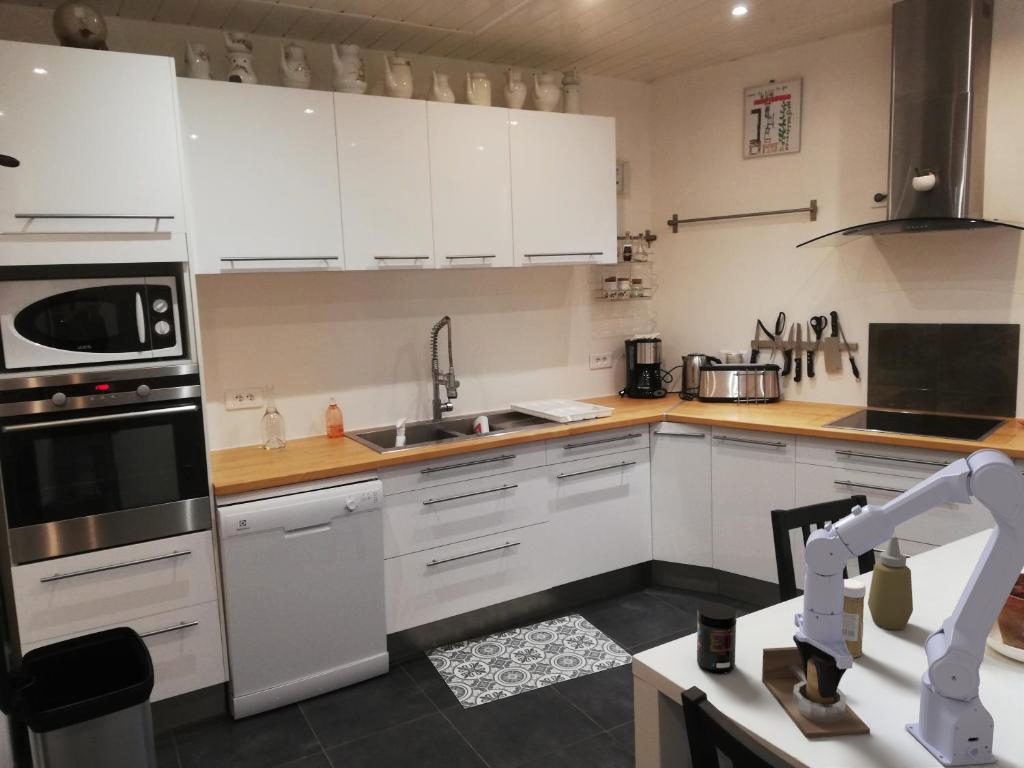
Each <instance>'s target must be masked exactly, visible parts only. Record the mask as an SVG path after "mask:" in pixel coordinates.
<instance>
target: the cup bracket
mask: <svg viewBox="0 0 1024 768" xmlns="http://www.w3.org/2000/svg"><path fill="white" fill-rule="evenodd" d="M761 666H762V673H761V682H762V683H763V684H765V685H766V686H765V685H764V686H765V688H766V689H767V690H768V691H769V692H770V694H771V695H772V696H773V698H774V699H775V700H776V701H777V702H778V704H779V705H780V706H781V708H782V709H783V711H784V712H785V713H786V715H788V717H789V718H790V719H791V720H792V722H793V723H794V724H795V725H796V727H797V728H798V729H799V731H800V732H801V733H802V735H803V736H804V737H805V738H806V739H812V738H813V739H814V738H815V739H816V738H826V737H827V738H830V737H842V736H843V737H844V736H845V737H846V736H857V735H870V734H871V728H870V727H869V726H868V725H867V724H866V723H865V722H864V721H863V719H861V717H859V715H858V714H857V713H856V712H855V711H854V710H853V709H852V708H851V707H850V706H849V705H848V704H847V695H846V694H845V693H844V692H843V691H842V690H841V689H840V688H837V691H836V693H835V696H834V702H833V704H828V705H823V704H818V703H814V702H811V701H809V700H807V698H806V691H807V681H806V679H805V675H804V670H803V665H802V660H801V657H800V653H799V651H798V648H797V646H787V647H786V646H785V647H768V648H762V665H761Z"/></svg>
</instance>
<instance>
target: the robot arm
mask: <svg viewBox="0 0 1024 768" xmlns="http://www.w3.org/2000/svg"><path fill="white" fill-rule="evenodd" d="M971 497H974V498H975V499H976V500H977V501H978V502H979V503H980V504H982V506H984V507H985V508H986V509H987V510H989V513H990V514H991V516H992V517H993V518H994V521H995V526H994V528H993V529H992V531H991V534H990V536H989V538H988V540H987V541H986V544H985V546H984V547H983V549H982V552H981V554H980V556H979V559H978V561H977V562H976V564H975V566H974V569H973V570H972V572H971V575H970V576H969V578H968V580H967V583H966V585H965V586H964V588H963V590H962V593H961V595H960V597H959V598H958V601H957V603H956V605H955V607H954V609H953V611H952V613H951V615H950V616H948V617H946V618H945V619H944V620H943V622H942V624H941V625H940V627H939V628H938V629H937V630H934V632H932V633H930V634H929V635H928V636H927V638H926V639H925V642H924V651H925V654H926V655H925V656H926V659H927V667H928V668H927V669H926V670H925V671H924V672H923V673H922V675H921V681H920V683H921V685H920V700H919V701H920V702H919V714H918V715H919V716H918V722H916V723H915V722H914V723H905V725H904V726H905V729H906V730H907V731H908V732H909V733H910V734H911V735H912V736H913V737H914V738H915V739H917V741H919V743H921V745H922V746H924V747H925V748H926V749H927V751H928V752H930V754H932V755H933V756H934V757H935V758H936V759H937V760H938V761H939V762H940V763H941V764H942V765H944V766H946V767H951V766H968V765H980V764H994V763H995V764H996V763H997V762H998V759H997V757H995V756H994V755H993V754H992V753H993V746H994V745H993V743H994V742H993V741H994V728H995V722H994V718H993V716H992V715H991V713H990V712H989V710H987V709H986V707H985V706H984V704H983V703H982V701H981V698H980V693H979V690H980V689H979V688H980V683H981V678H980V667H981V665H982V664H983V661H984V658H985V657H984V656H985V651H986V644H987V640H988V638H989V636H990V633H991V631H992V629H993V627H994V625H995V623H996V622H997V620H998V618H999V615H1001V612H1002V609H1003V608H1004V606H1005V605H1006V602H1007V601H1008V598H1009V597H1010V595H1011V592H1012V590H1013V589H1014V587H1015V584H1016V583H1017V581H1018V579H1019V577H1020V574H1021V573H1022V571H1023V569H1024V475H1023V473H1022V472H1021V471H1020V469H1019V468H1018V467H1017V465H1016V464H1015V462H1013V460H1012V459H1011V458H1010V456H1009V455H1008V454H1006V453H1004V452H1003V451H1000V450H998V449H995V448H982V449H979V450H976V451H975V452H973V453H971V454H970V455H969V456H968V457H967V458H966V459H965V457H963V458H960V459H957V460H955V461H953V462H952V463H950V464H948V465H946V467H944V468H942V469H939V470H938V471H937V472H935V473H934V474H932V475H930V476H929V477H927V478H926V479H924V480H922V481H921V482H918V483H917V484H916V485H914V486H912V487H911V488H909V489H907V490H906V491H904V492H903V493H902V494H900V495H899V496H897V497H895V498H894V499H892V500H890V501H889V502H886V504H884V505H874V504H866V505H864V506H862V507H861V505H859V504H857V505H856V506H853V507H852V508H851V513H849V515H846V516H845V517H843V518H841V519H839V520H838V521H836V522H835V523H833V524H832V523H831V522H828V523H826V524H824V526H823V527H824V528H819V529H816V530H814V531H813V532H811V533H810V535H809V536H808V539H807V540H806V545H805V549H804V560H805V563H806V564H805V569H804V570H805V573H806V574H805V575H804V581H803V582H804V585H803V587H804V588H803V609H802V610H803V612H802V613H800V612H799V613H794V626H795V627H797V628H799V631H796V632H795V634H794V635H793V636H792V640H793V642H794V644H795V647H797V648H798V651H799V653H800V657H801V660H802V665H803V670H804V675H805V679H806V681H807V666H808V660H809V659H810V658H812V659H813V662H814V664H815V667H816V671H817V678H818V690H819V695H820V696H821V697H822V698H832V697H834V696H835V693H836V691H837V688H838V687H839V684H840V682H841V680H842V678H843V676H844V674H845V673H846V671H848V669H853V661H854V657H853V656H852V655H851V654H850V653H849V651H848V648H847V646H846V643H845V640H844V637H843V635H842V625H843V603H844V578H843V577H844V576H843V575H844V569H845V568H846V564H847V561H848V560H851V559H852V560H853V559H856V558H857V557H860V556H861V555H864V554H865V553H867V552H870V551H871V550H872V549H875V548H876V547H878V546H880V545H882V544H884V543H885V542H887V541H890V539H891V538H892V537H893V536H894V534H895V528H896V526H898V525H901V524H902V523H905V522H906V521H909V520H911V519H913V518H915V517H918V516H919V515H921V514H924V513H925V512H927V511H930V510H932V509H933V508H935V507H938V506H940V505H941V504H944V503H946V502H951V503H956V504H957V503H958V504H964V505H965V504H966V505H973V502H972V500H971ZM838 689H839V688H838Z"/></svg>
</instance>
